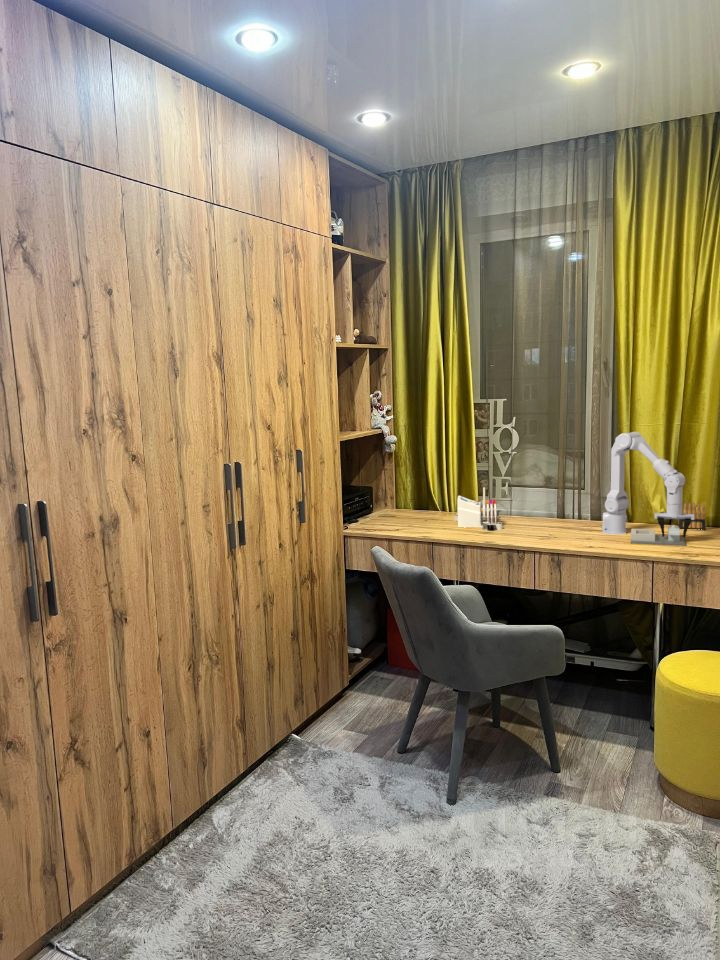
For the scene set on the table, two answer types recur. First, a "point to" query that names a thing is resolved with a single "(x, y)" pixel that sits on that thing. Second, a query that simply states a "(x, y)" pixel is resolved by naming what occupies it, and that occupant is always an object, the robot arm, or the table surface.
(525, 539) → the table surface
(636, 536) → the servo chassis
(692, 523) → the ammunition clip
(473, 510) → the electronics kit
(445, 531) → the table surface
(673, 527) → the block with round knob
